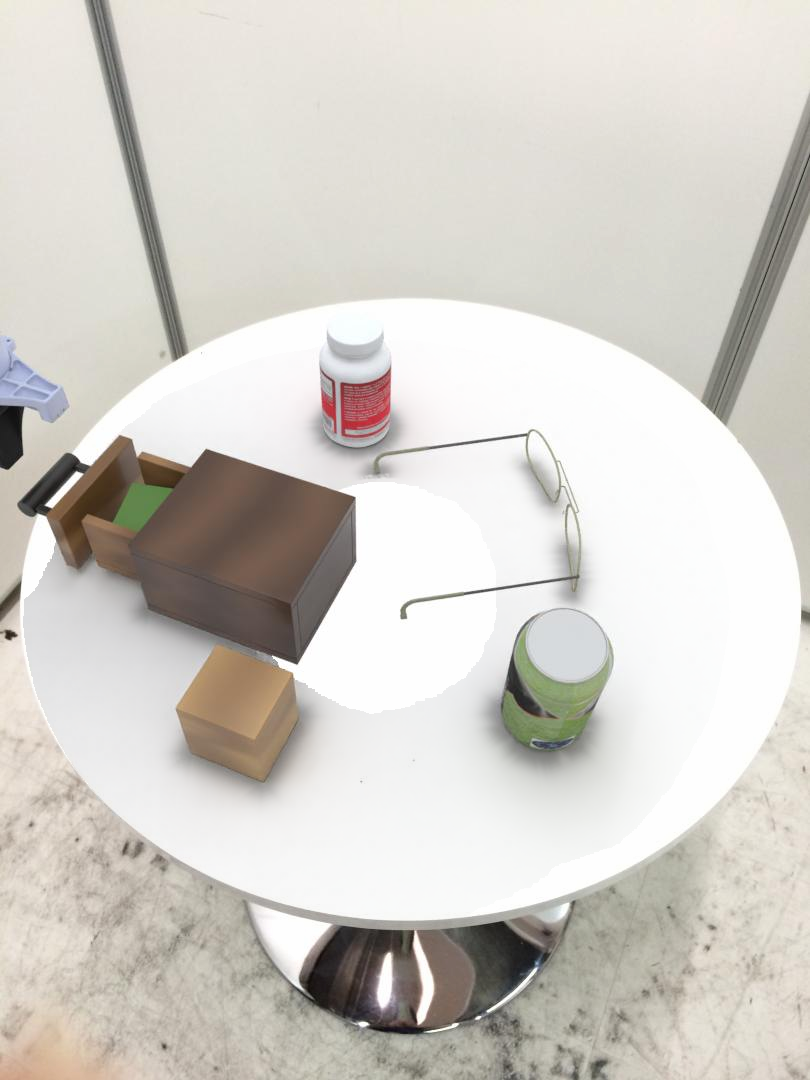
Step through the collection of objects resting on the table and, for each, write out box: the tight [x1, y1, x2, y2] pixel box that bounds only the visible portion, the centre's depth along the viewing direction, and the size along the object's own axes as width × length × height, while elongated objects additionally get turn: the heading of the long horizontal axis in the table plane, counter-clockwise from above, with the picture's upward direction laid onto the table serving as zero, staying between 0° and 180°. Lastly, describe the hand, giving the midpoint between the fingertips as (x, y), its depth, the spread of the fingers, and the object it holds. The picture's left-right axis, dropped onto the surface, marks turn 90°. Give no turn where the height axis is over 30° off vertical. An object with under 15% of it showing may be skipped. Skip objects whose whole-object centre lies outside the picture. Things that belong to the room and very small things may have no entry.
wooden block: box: [175, 644, 299, 783], centre depth 57 cm, size 6×5×6 cm
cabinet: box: [128, 448, 357, 666], centre depth 65 cm, size 13×11×8 cm
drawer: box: [16, 434, 192, 583], centre depth 67 cm, size 16×9×6 cm, turn 68°
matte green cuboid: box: [113, 483, 173, 532], centre depth 67 cm, size 5×4×3 cm
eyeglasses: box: [373, 428, 582, 620], centre depth 70 cm, size 16×15×5 cm
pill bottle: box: [318, 310, 392, 448], centre depth 76 cm, size 6×6×11 cm
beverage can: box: [500, 606, 615, 751], centre depth 56 cm, size 6×7×12 cm
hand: (9, 459), depth 68 cm, fingers closed
